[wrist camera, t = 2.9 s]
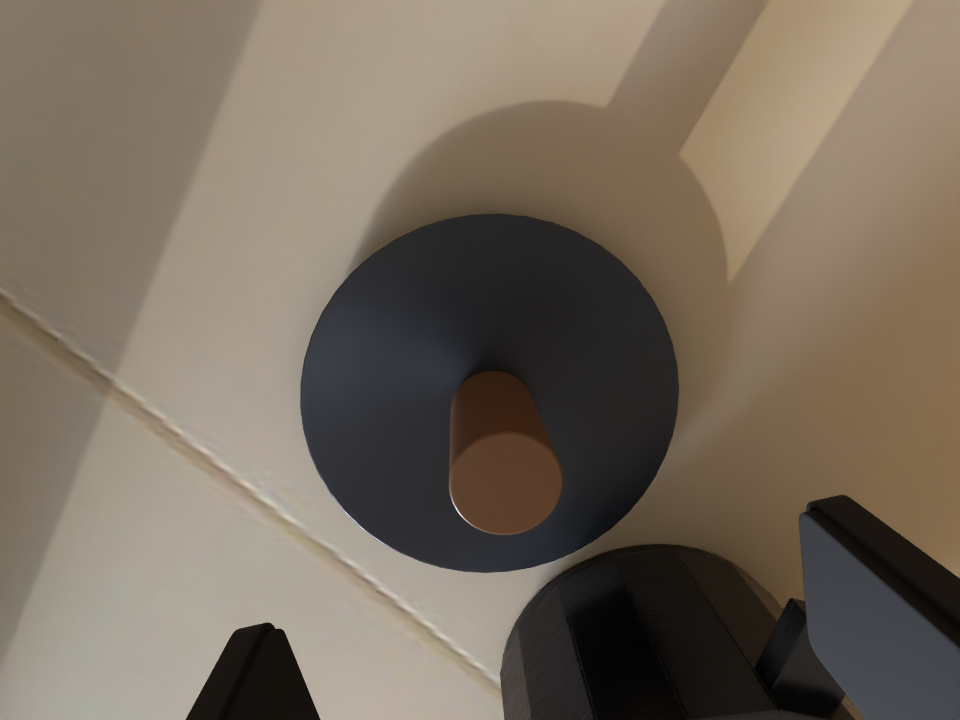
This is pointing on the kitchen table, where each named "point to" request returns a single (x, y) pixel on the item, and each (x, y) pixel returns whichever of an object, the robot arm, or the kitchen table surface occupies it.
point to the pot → (664, 645)
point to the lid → (489, 393)
